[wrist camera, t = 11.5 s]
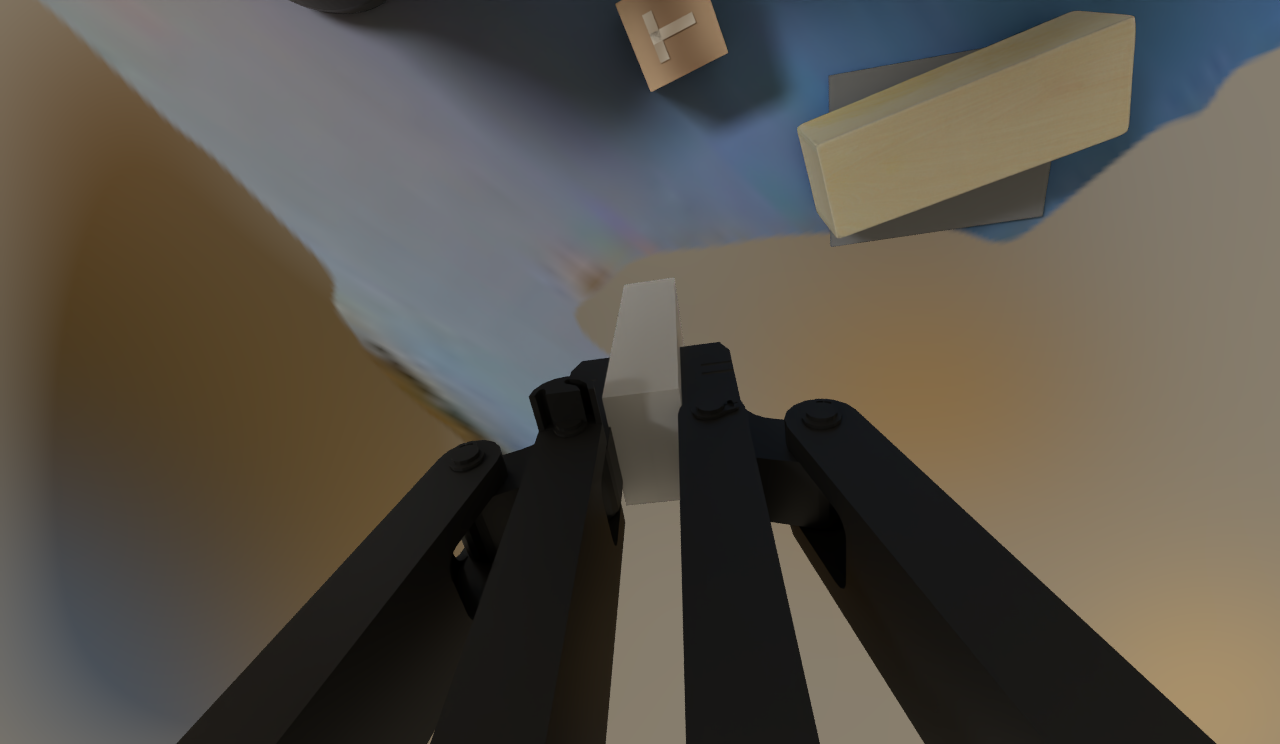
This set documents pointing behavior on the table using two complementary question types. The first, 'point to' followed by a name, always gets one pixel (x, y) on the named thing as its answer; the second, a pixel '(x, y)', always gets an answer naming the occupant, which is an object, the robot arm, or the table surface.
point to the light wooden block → (972, 121)
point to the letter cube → (671, 36)
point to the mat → (969, 209)
